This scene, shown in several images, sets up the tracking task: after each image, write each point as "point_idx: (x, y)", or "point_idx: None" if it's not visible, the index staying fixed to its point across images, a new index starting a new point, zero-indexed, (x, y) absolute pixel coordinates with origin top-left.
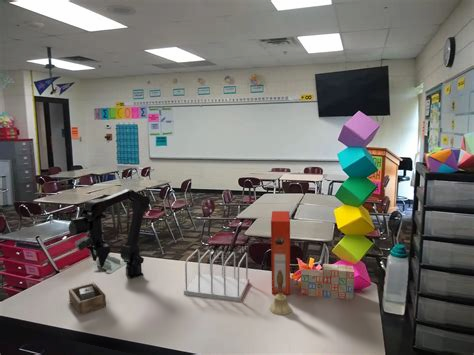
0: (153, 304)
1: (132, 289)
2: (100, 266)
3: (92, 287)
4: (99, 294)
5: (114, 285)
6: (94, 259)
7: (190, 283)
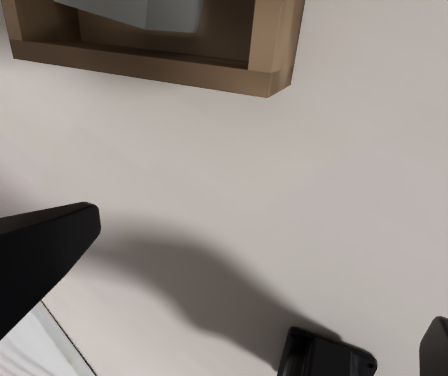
0: (17, 201)
1: (169, 243)
2: (70, 205)
3: (121, 20)
4: (86, 46)
5: (287, 229)
6: (439, 355)
7: (55, 347)
